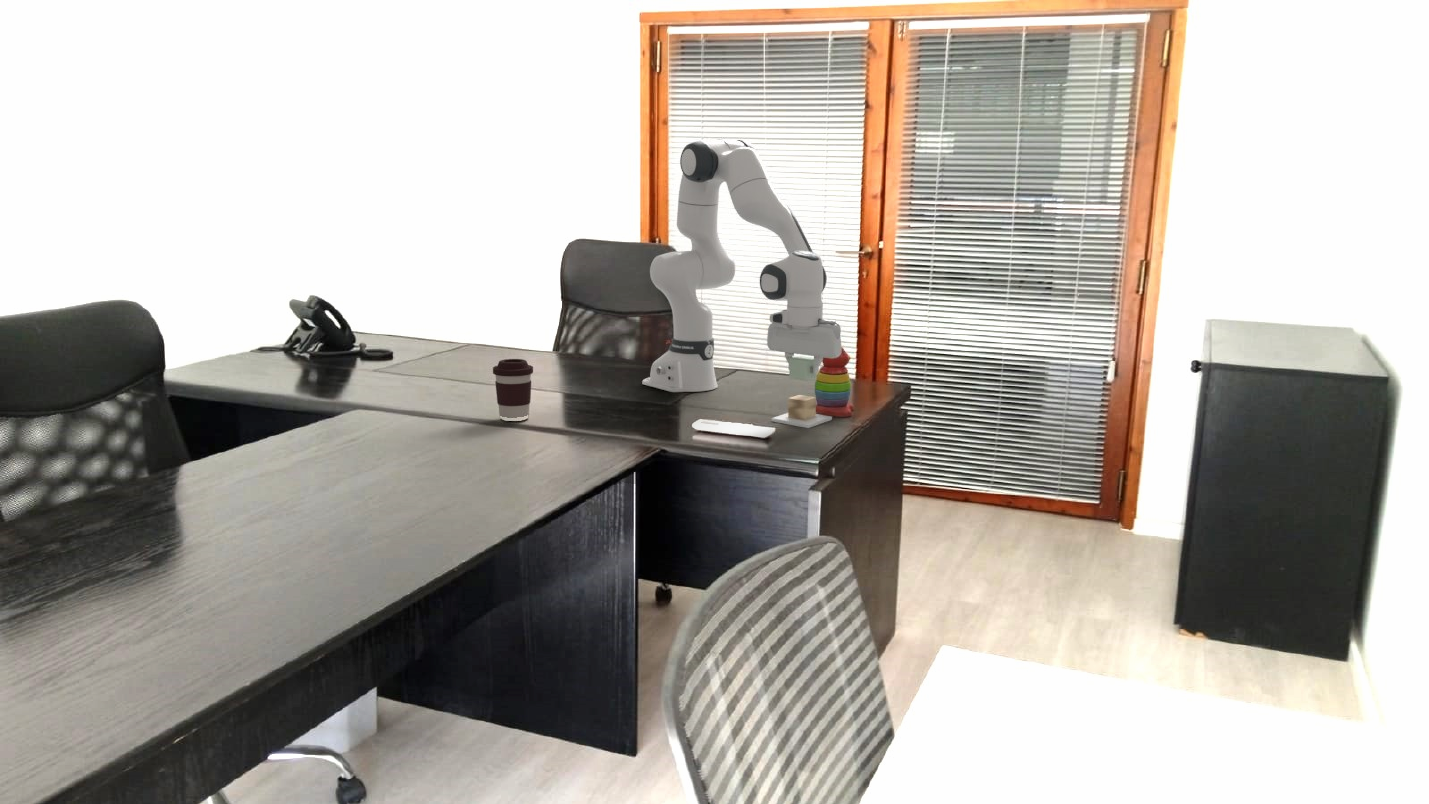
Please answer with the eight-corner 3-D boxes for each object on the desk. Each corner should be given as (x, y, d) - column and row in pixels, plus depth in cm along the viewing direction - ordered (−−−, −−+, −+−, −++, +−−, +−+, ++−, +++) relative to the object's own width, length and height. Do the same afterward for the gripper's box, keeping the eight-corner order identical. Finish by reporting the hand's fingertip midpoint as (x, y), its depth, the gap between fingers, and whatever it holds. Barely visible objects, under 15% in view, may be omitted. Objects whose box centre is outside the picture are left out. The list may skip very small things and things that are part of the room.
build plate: (771, 421, 279) (771, 417, 279) (795, 413, 287) (796, 409, 287) (808, 428, 272) (808, 424, 272) (831, 419, 281) (832, 416, 281)
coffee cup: (542, 417, 281) (540, 359, 278) (517, 425, 273) (516, 365, 270) (511, 413, 286) (509, 356, 283) (486, 420, 277) (484, 361, 274)
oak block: (788, 417, 279) (788, 398, 278) (799, 413, 283) (799, 394, 282) (804, 420, 276) (805, 400, 275) (815, 416, 280) (816, 397, 279)
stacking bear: (851, 417, 283) (853, 349, 279) (811, 415, 285) (813, 347, 281) (854, 408, 293) (856, 342, 289) (816, 406, 295) (818, 340, 291)
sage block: (789, 378, 277) (789, 358, 276) (800, 375, 281) (800, 355, 280) (806, 381, 274) (806, 361, 273) (816, 377, 278) (817, 358, 277)
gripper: (847, 319, 270) (845, 375, 273) (778, 311, 282) (777, 365, 285) (833, 322, 265) (832, 379, 268) (764, 314, 277) (763, 368, 281)
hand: (803, 371), depth 277 cm, fingers closed on sage block, 5 cm apart
